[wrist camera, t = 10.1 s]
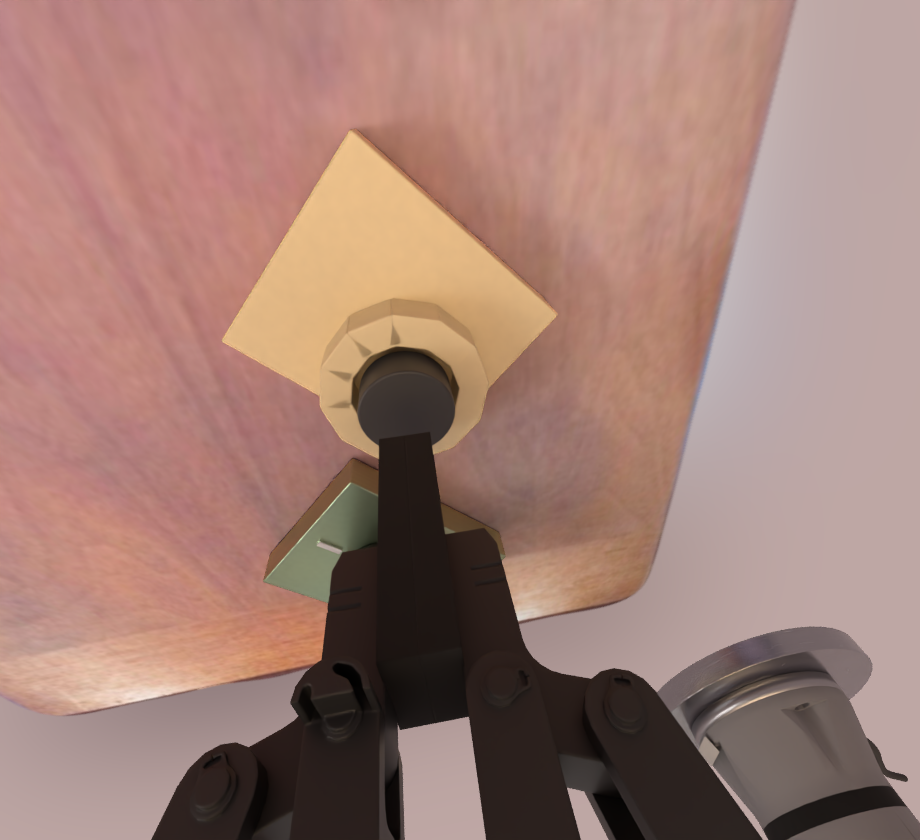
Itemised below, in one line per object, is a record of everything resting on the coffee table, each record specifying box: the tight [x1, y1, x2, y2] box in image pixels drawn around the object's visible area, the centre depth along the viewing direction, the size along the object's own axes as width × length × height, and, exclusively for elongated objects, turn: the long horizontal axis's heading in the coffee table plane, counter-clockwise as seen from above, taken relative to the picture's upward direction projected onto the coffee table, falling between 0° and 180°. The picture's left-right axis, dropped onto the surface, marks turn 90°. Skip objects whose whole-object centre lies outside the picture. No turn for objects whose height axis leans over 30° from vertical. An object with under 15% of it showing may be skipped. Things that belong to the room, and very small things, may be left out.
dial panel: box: [263, 458, 506, 603], centre depth 27 cm, size 11×9×2 cm
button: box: [357, 351, 455, 446], centre depth 17 cm, size 4×4×2 cm
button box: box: [222, 129, 558, 459], centre depth 18 cm, size 10×9×4 cm
